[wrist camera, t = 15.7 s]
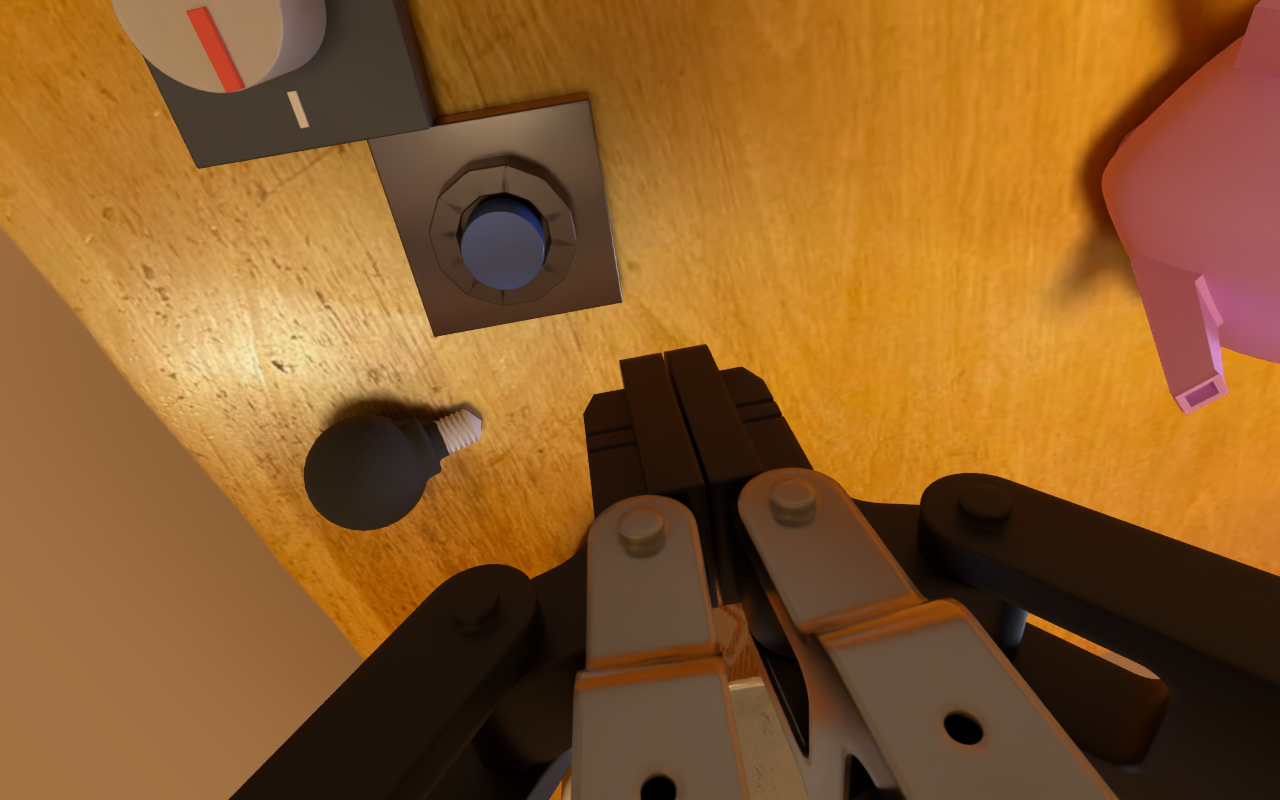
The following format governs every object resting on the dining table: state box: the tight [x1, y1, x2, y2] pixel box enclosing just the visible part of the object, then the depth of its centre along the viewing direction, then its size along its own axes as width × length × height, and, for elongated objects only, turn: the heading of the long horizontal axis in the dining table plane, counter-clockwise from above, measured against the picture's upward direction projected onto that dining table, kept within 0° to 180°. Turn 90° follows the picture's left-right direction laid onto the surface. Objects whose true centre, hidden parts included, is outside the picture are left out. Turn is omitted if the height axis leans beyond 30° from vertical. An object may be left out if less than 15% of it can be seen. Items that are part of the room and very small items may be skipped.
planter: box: [561, 541, 808, 800], centre depth 43 cm, size 19×19×16 cm
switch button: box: [461, 198, 544, 290], centre depth 31 cm, size 4×4×2 cm
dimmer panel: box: [143, 0, 438, 169], centre depth 27 cm, size 11×10×3 cm
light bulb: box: [304, 409, 481, 531], centre depth 38 cm, size 6×6×10 cm
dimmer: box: [110, 0, 326, 93], centre depth 23 cm, size 5×5×6 cm
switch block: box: [367, 92, 623, 337], centre depth 33 cm, size 10×10×4 cm
